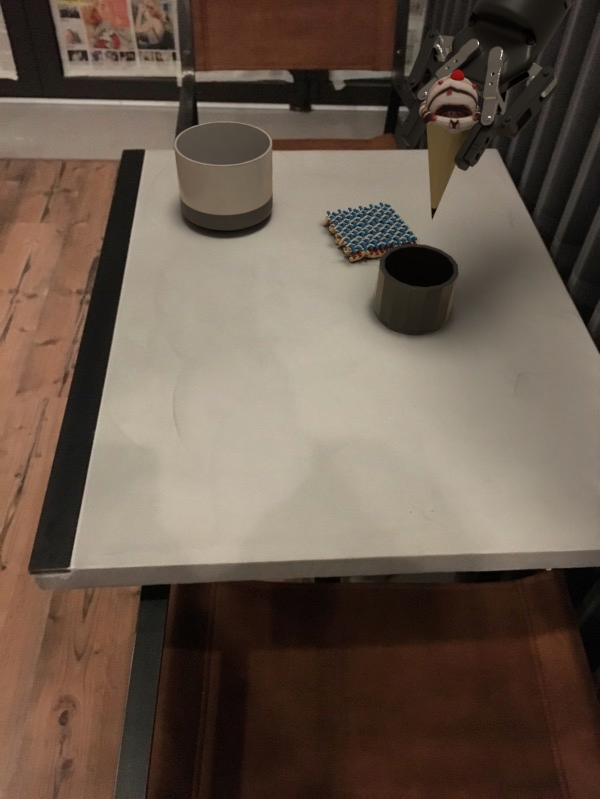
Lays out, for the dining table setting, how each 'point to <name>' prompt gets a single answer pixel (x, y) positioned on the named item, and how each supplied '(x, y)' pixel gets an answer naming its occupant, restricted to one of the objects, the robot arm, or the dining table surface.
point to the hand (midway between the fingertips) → (432, 153)
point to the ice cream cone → (447, 127)
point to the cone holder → (415, 288)
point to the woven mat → (369, 231)
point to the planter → (224, 174)
